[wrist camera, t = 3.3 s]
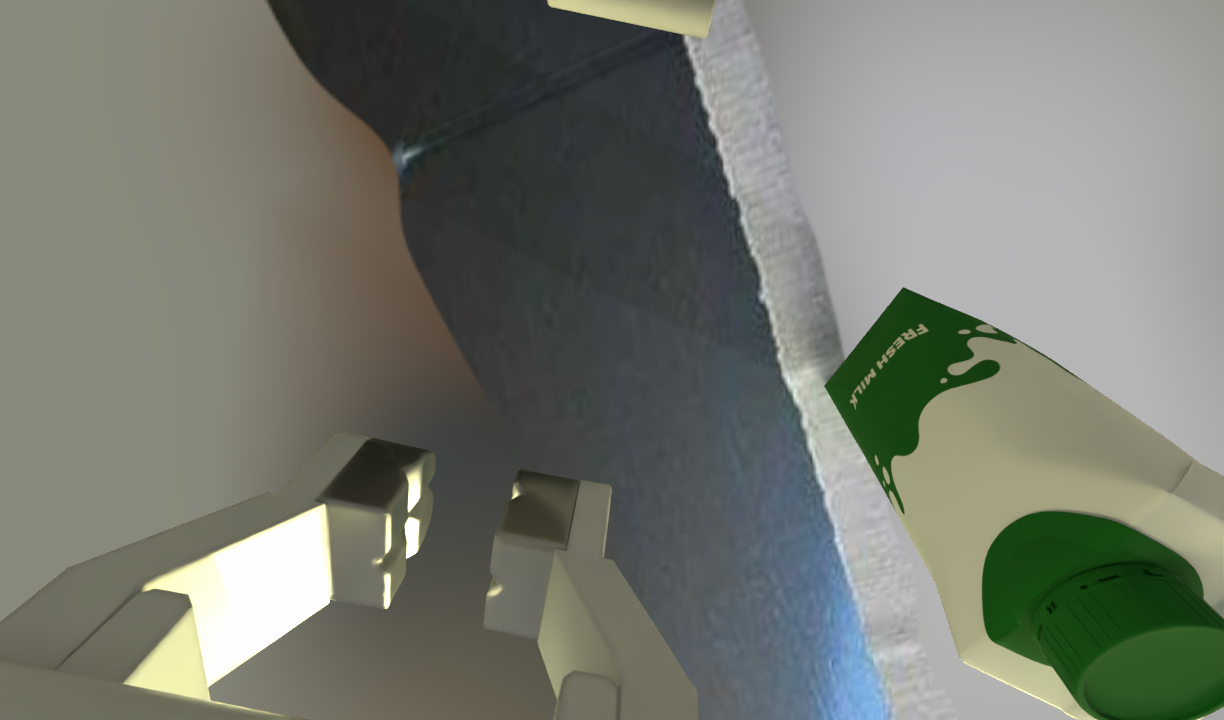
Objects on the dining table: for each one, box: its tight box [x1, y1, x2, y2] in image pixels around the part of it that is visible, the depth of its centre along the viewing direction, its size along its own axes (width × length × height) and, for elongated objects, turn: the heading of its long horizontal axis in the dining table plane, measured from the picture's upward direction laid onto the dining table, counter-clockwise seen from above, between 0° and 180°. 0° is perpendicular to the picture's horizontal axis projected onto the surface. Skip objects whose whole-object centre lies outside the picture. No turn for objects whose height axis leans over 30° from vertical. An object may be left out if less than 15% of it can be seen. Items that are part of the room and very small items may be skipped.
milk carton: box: [825, 288, 1224, 720], centre depth 24 cm, size 9×9×20 cm
